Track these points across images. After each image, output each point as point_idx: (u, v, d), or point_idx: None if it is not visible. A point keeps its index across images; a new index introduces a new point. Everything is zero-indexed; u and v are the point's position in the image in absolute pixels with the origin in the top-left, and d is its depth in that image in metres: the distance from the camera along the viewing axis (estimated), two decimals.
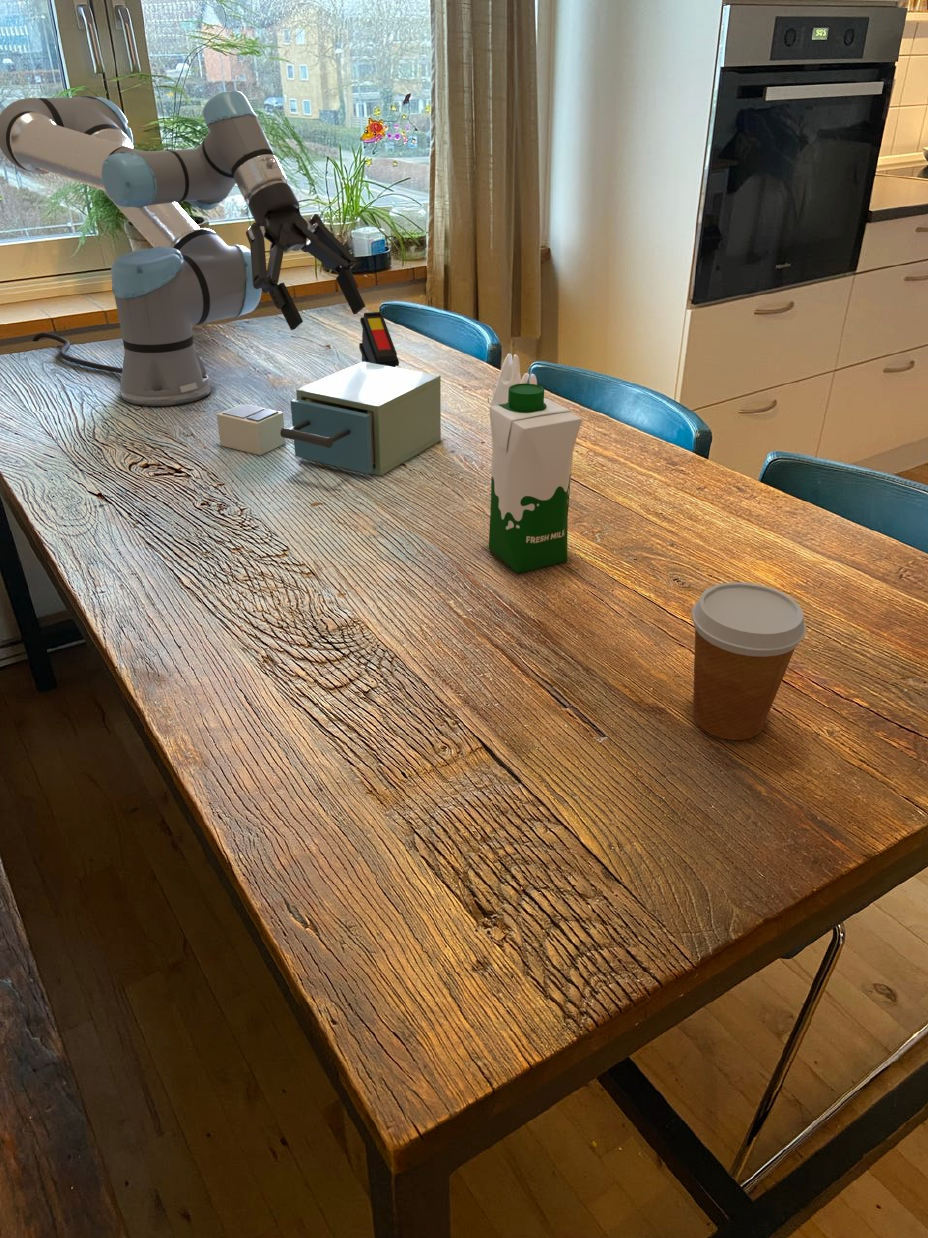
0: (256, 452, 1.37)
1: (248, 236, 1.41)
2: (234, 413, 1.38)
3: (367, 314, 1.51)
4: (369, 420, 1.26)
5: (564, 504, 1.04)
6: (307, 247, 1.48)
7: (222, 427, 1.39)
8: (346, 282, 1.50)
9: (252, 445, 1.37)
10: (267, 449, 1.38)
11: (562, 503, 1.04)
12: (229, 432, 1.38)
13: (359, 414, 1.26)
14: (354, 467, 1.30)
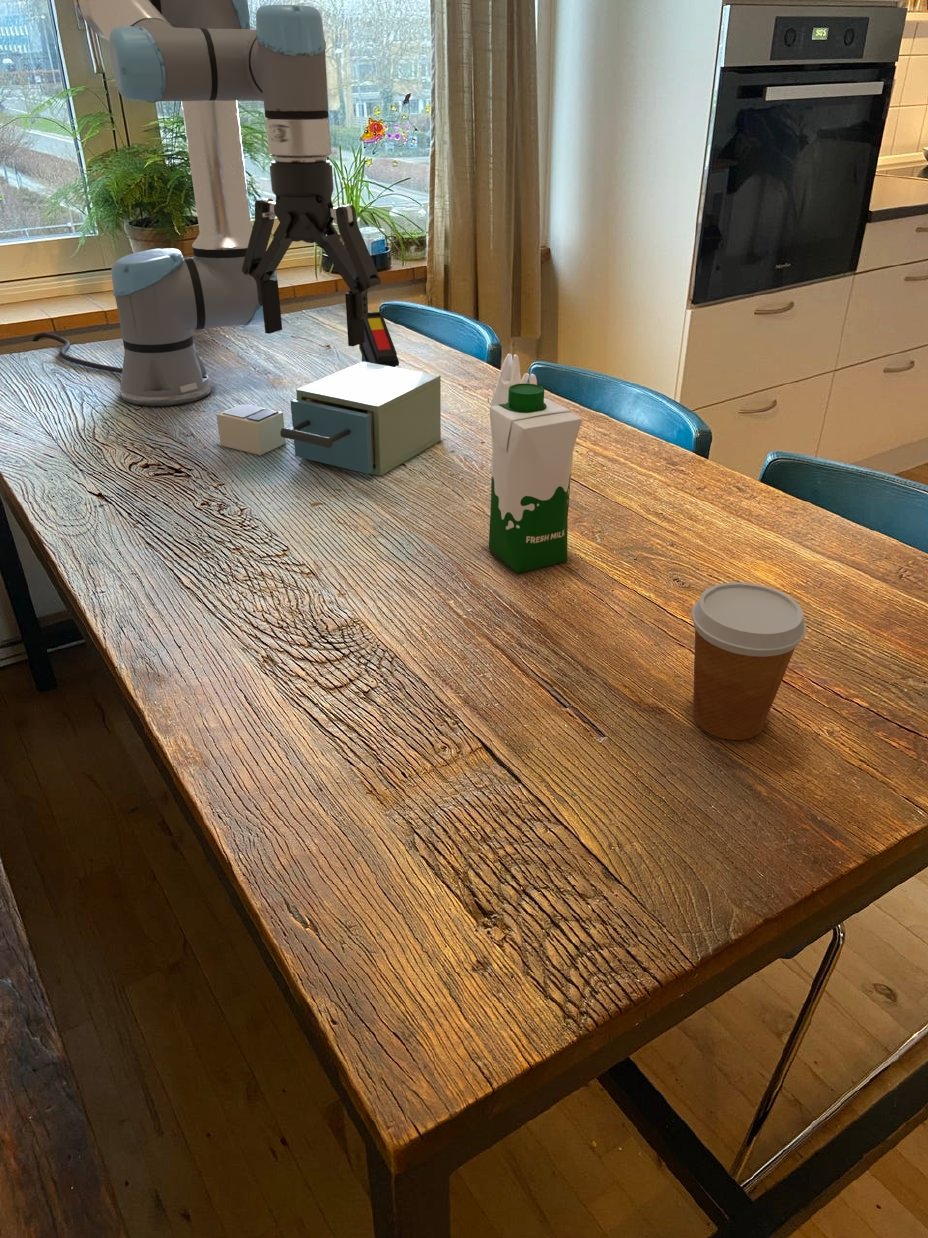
0: (256, 452, 1.37)
1: None
2: (234, 413, 1.38)
3: None
4: (369, 420, 1.26)
5: (564, 504, 1.04)
6: None
7: (222, 427, 1.39)
8: None
9: (252, 445, 1.37)
10: (267, 449, 1.38)
11: (562, 503, 1.04)
12: (229, 432, 1.38)
13: (359, 414, 1.26)
14: (354, 467, 1.30)
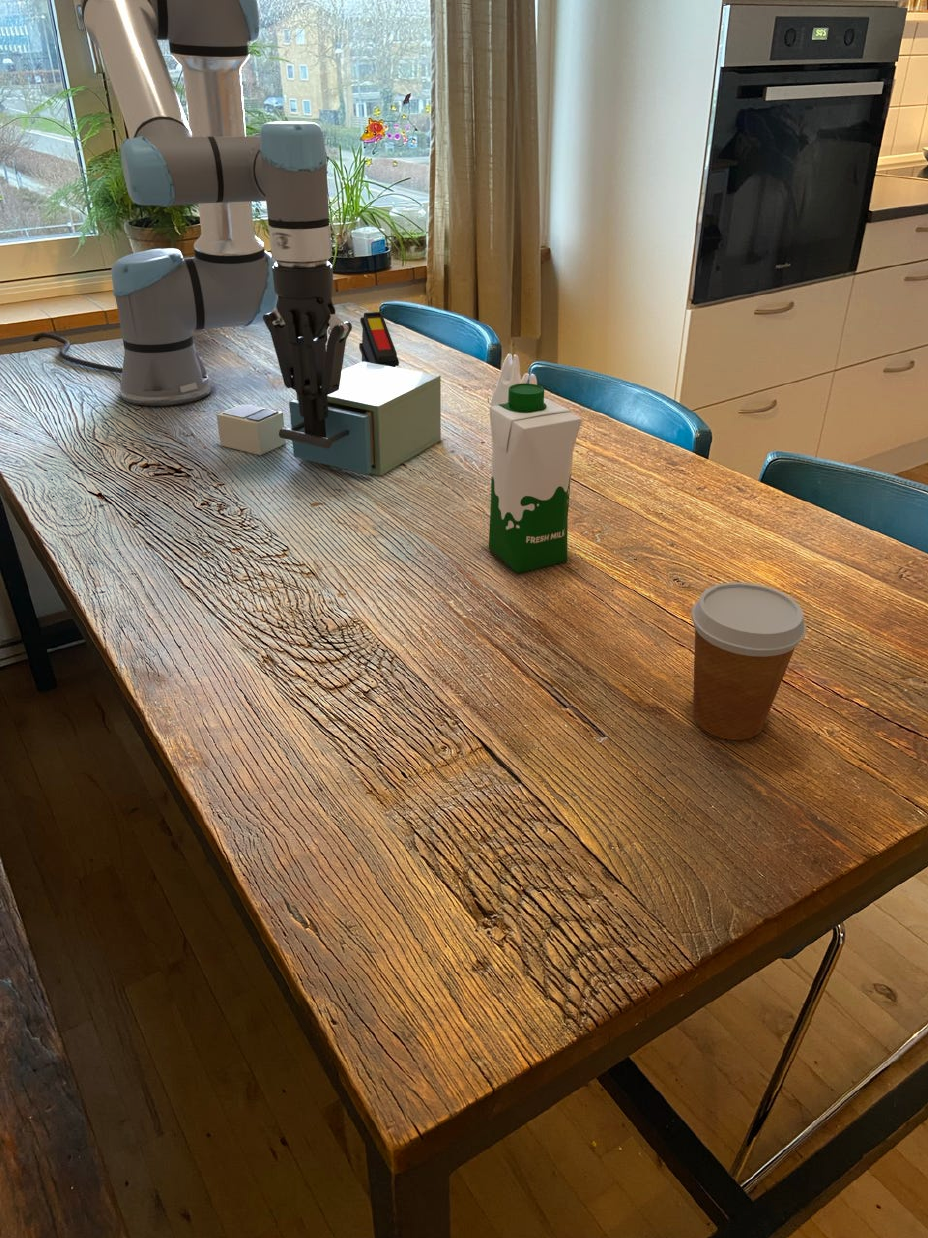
0: (256, 452, 1.37)
1: None
2: (234, 413, 1.38)
3: (367, 314, 1.51)
4: (367, 420, 1.26)
5: (564, 504, 1.04)
6: None
7: (222, 427, 1.39)
8: None
9: (252, 445, 1.37)
10: (267, 449, 1.38)
11: (562, 503, 1.04)
12: (229, 432, 1.38)
13: (357, 415, 1.25)
14: (353, 468, 1.30)
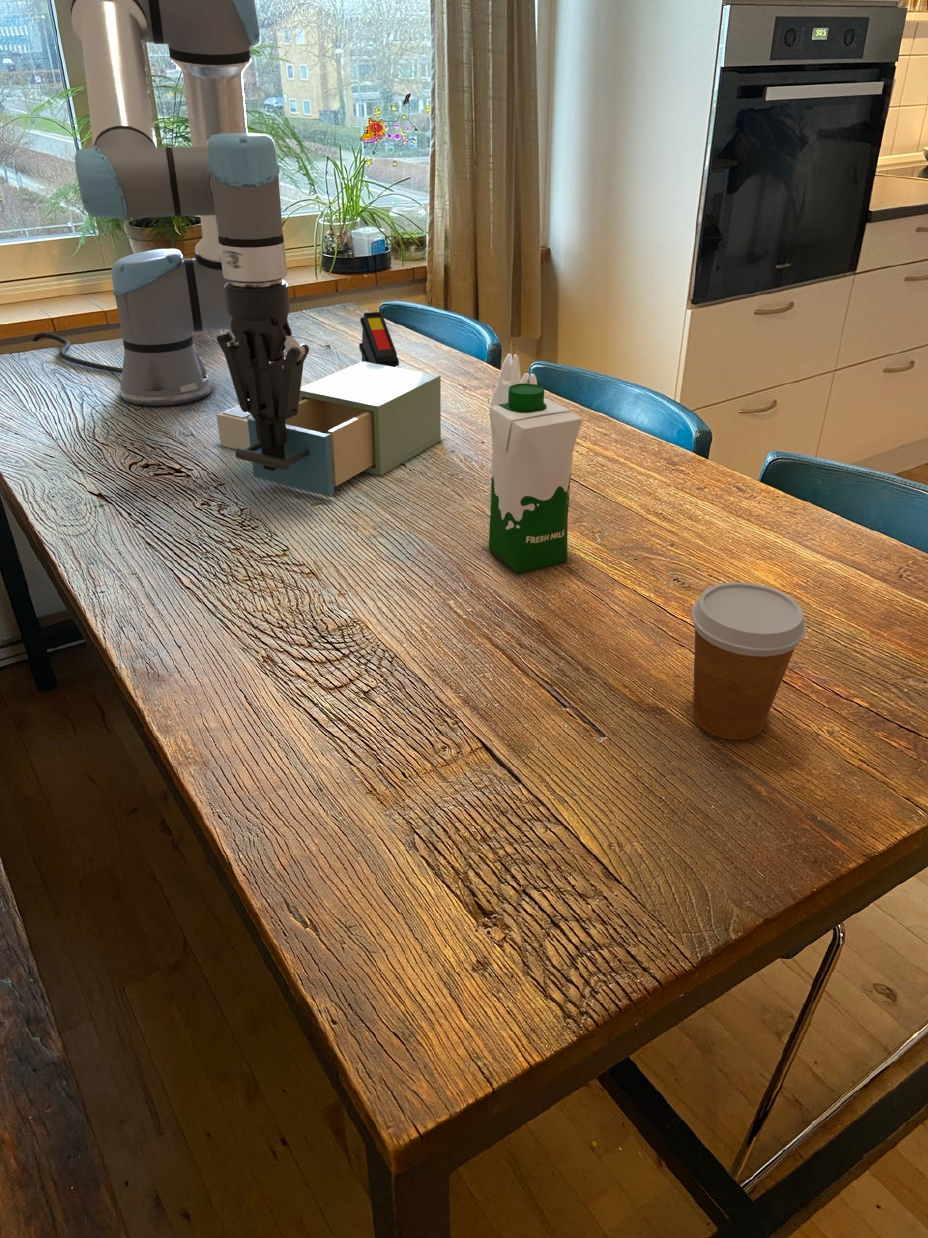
0: None
1: None
2: (234, 413, 1.38)
3: (367, 314, 1.51)
4: (329, 440, 1.19)
5: (564, 504, 1.04)
6: None
7: (222, 427, 1.39)
8: None
9: None
10: None
11: (562, 503, 1.04)
12: (229, 432, 1.38)
13: (318, 434, 1.19)
14: (314, 489, 1.23)
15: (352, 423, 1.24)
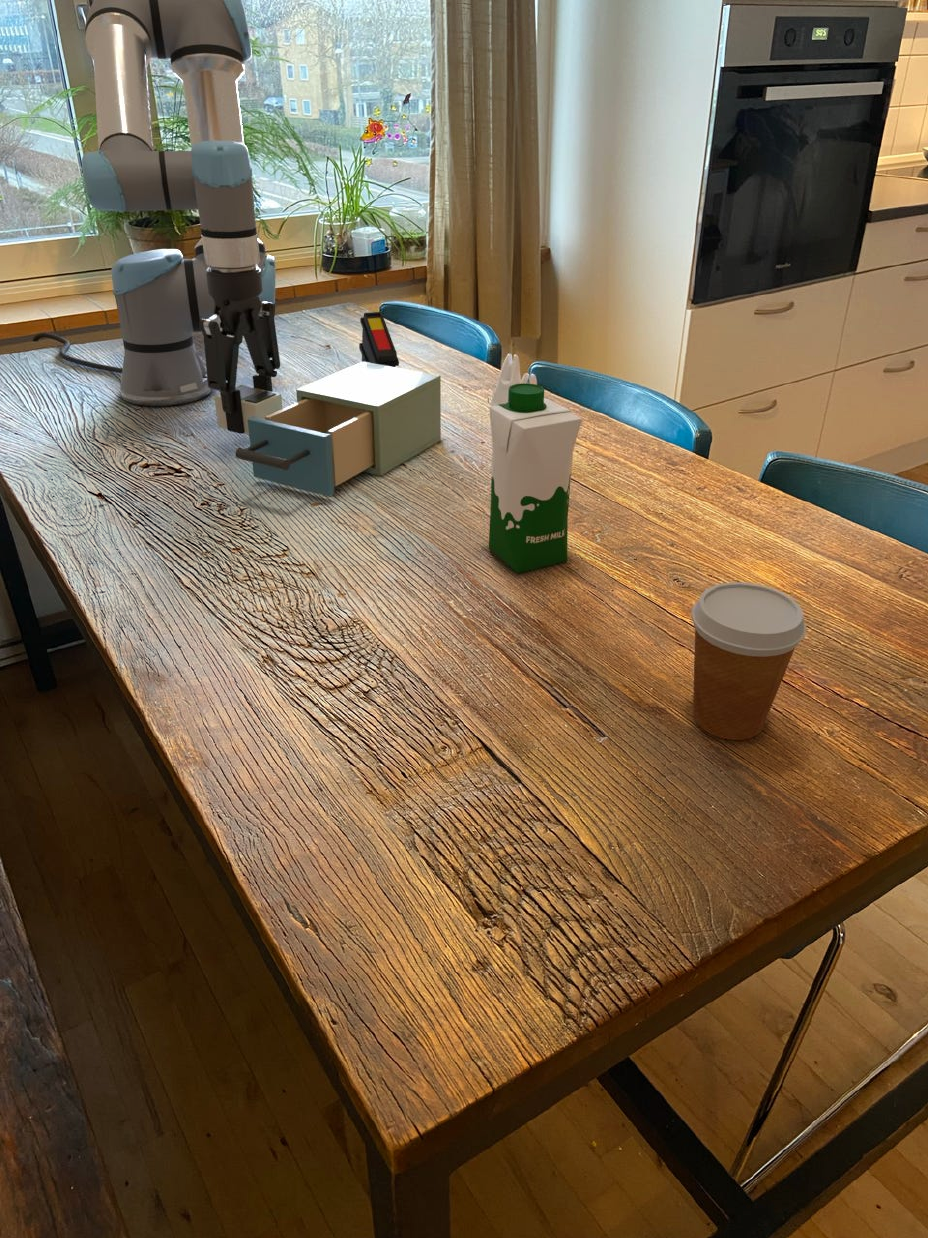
0: None
1: None
2: None
3: (367, 314, 1.51)
4: (329, 440, 1.19)
5: (564, 504, 1.04)
6: None
7: (220, 409, 1.37)
8: None
9: None
10: None
11: (562, 503, 1.04)
12: None
13: (318, 434, 1.19)
14: (314, 489, 1.23)
15: (352, 423, 1.24)
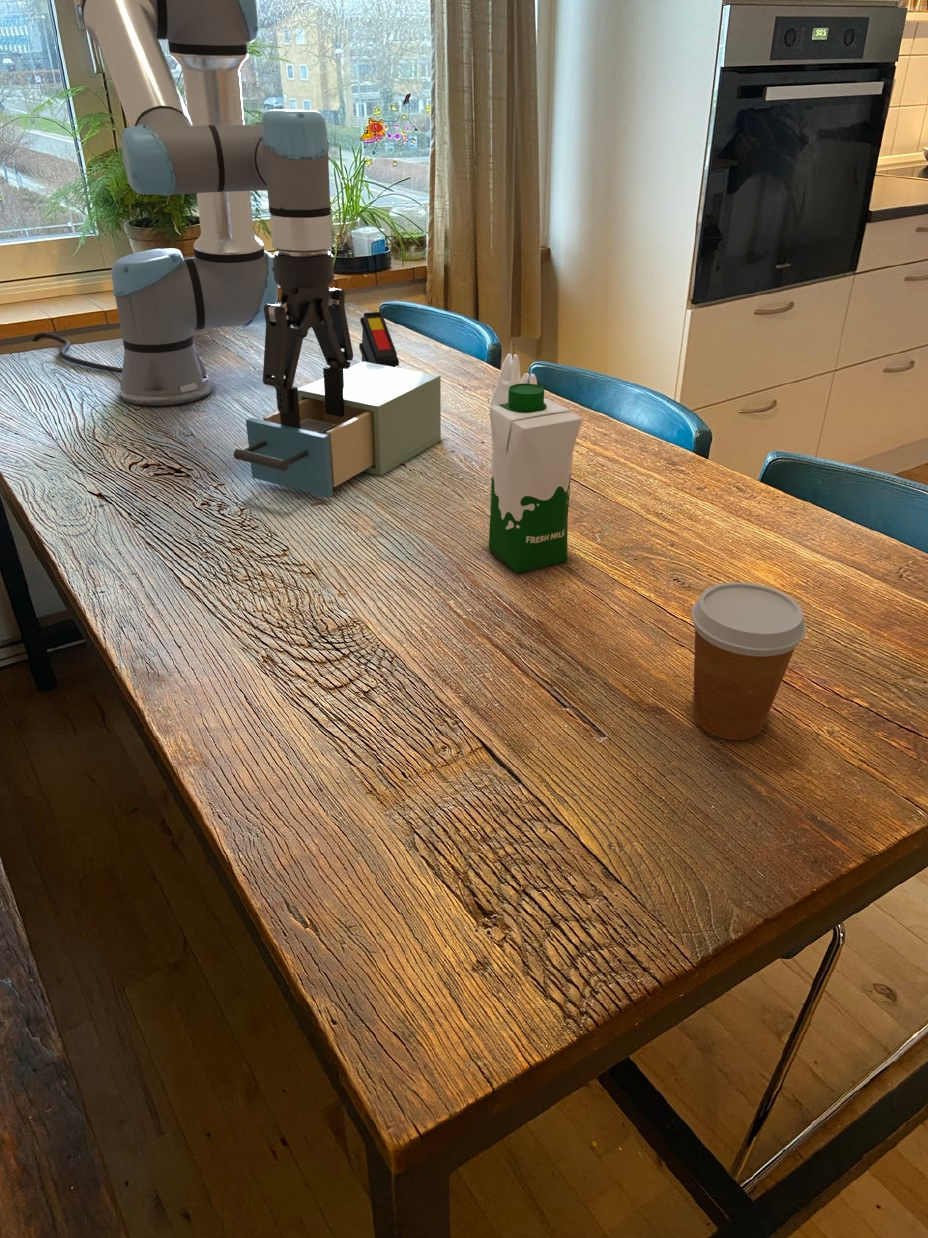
0: None
1: None
2: None
3: (367, 314, 1.51)
4: (327, 441, 1.19)
5: (564, 504, 1.04)
6: None
7: None
8: None
9: None
10: None
11: (562, 503, 1.04)
12: None
13: (316, 435, 1.19)
14: (313, 490, 1.23)
15: (351, 423, 1.24)
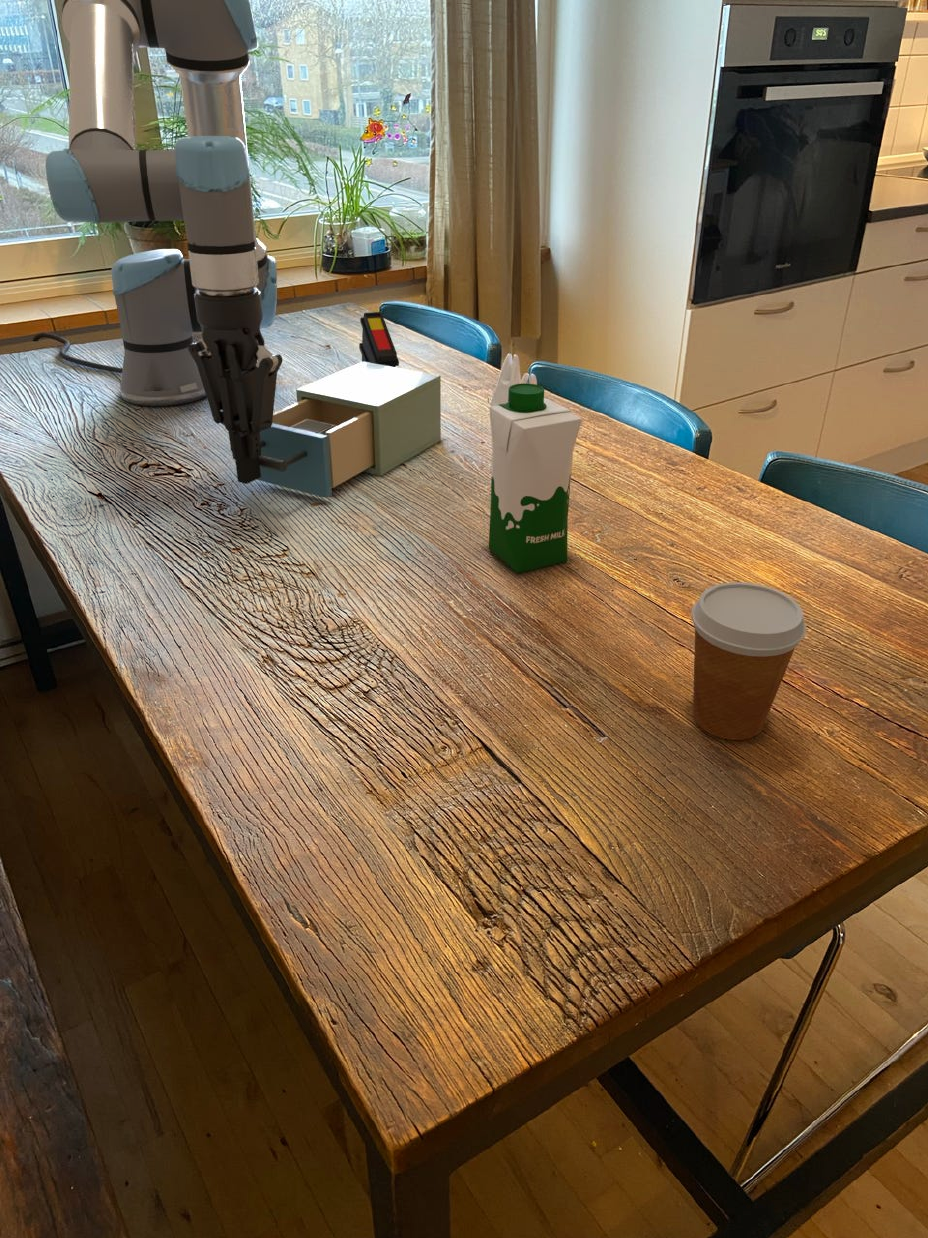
0: None
1: (269, 369, 1.06)
2: None
3: (367, 314, 1.51)
4: (326, 441, 1.19)
5: (564, 504, 1.04)
6: (230, 371, 1.10)
7: None
8: None
9: None
10: None
11: (562, 503, 1.04)
12: None
13: (315, 435, 1.18)
14: (312, 491, 1.23)
15: (350, 424, 1.24)
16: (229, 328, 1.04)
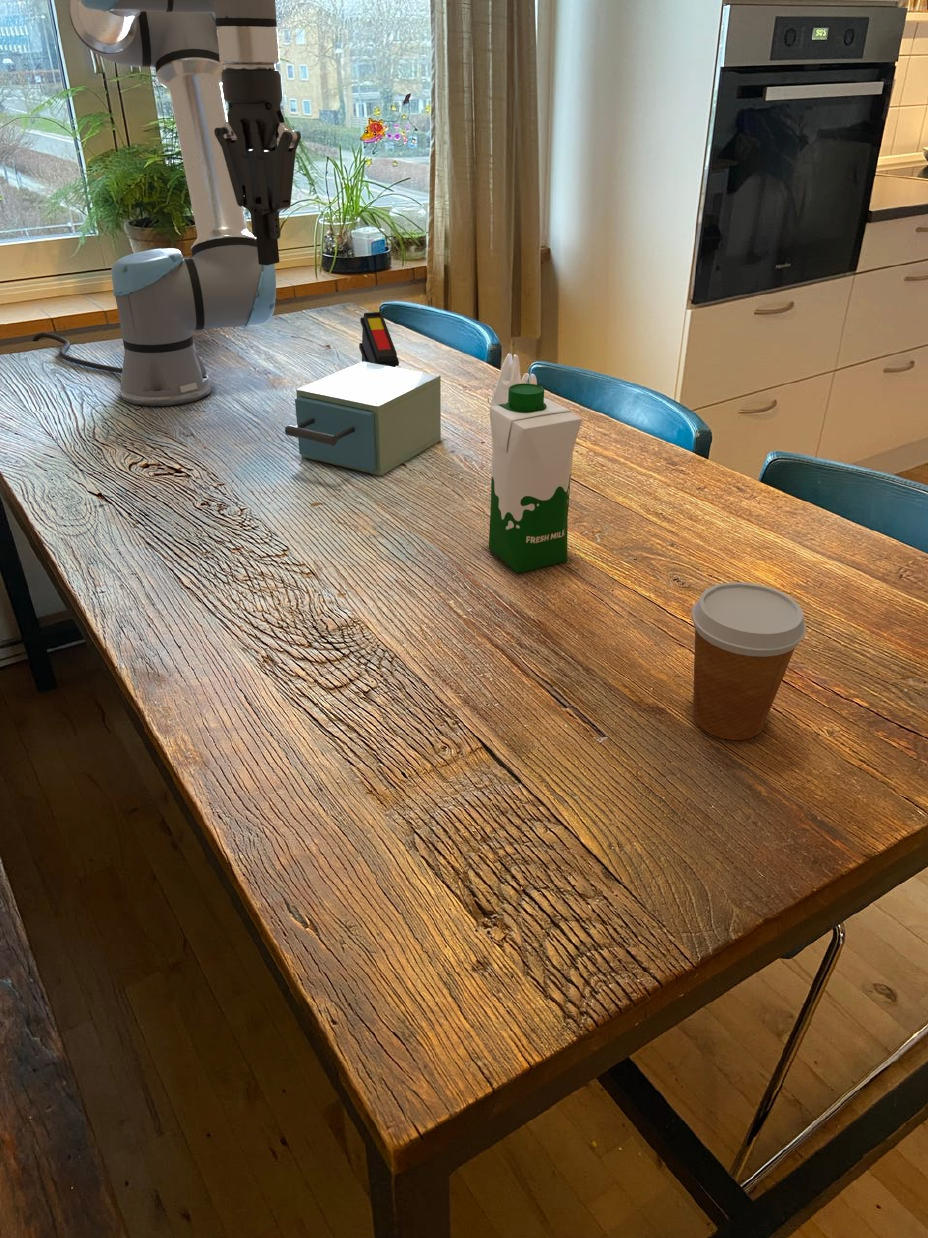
0: None
1: (289, 143, 1.17)
2: None
3: (367, 314, 1.51)
4: (373, 417, 1.26)
5: (564, 504, 1.04)
6: (252, 152, 1.21)
7: None
8: None
9: None
10: None
11: (562, 503, 1.04)
12: None
13: (363, 412, 1.26)
14: (358, 465, 1.31)
15: None
16: (253, 101, 1.15)
